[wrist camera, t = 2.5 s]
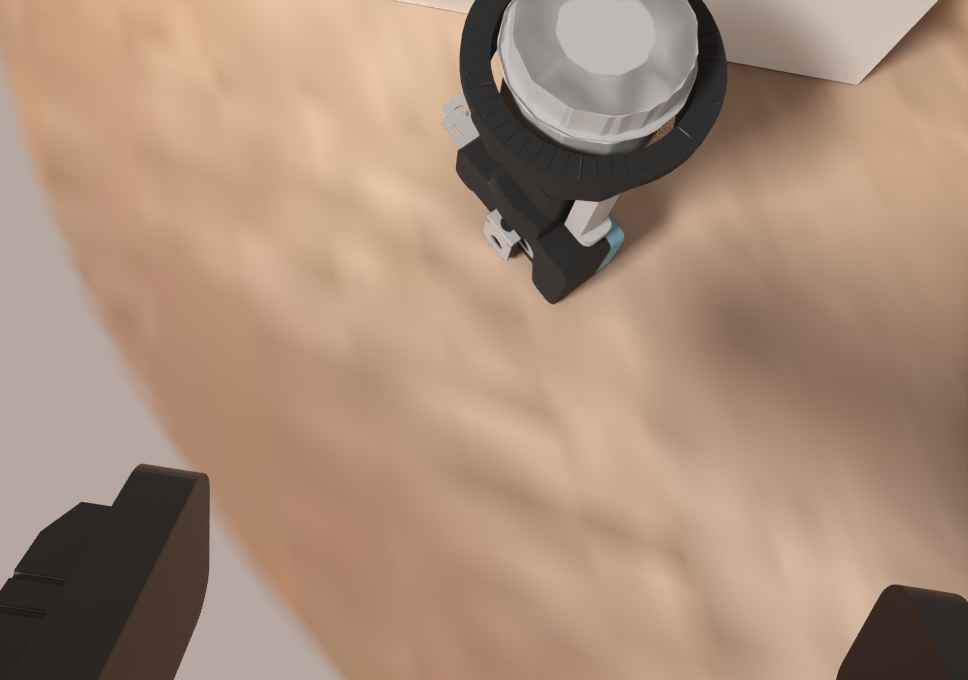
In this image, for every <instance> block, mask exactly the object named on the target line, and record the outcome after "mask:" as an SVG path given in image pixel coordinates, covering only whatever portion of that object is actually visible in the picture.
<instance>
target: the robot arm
mask: <svg viewBox="0 0 968 680" xmlns="http://www.w3.org/2000/svg"><path fill="white" fill-rule="evenodd" d="M209 514H210V486H209V478H208V476H207V474H205V473H198V472H192V471H185V470H179V469H173V468H166V467H160V466H154V465H147V464H140V465H138V466H137V467H136V468H135V469H134V470H133V472H132V473H131V475H130V476H129V478H128V480H127V481H126V483H125V485H124V486H123V488H122V490H121V491H120V493H119V495H118V497H117V498H116V500H115V501H114V503H113V505H112V506H105V505H98V504H92V503H85V502H81V503H79V504H78V505H77V506H75V507H74V508H72V509H71V510H70V511H68V512H67V513H66V514H64V515H63V516H61V517H60V518H59V519H57V520H56V521H54V522H53V523H52V524H50V525H49V526H48V527H46V528H45V529H43V530H42V531H41V532H40V533H39V534H38V536H37V538H36V539H35V540H34V542H33V543H32V545H31V546H30V548H29V550H28V551H27V552H26V554H25V555H24V557H23V558H22V560H21V561H20V562H19V564H18V565H17V567H16V568H15V570H14V575H13V577H12V578H9V579H8V580H7V582H6V583H5V585H4V586H3V588H2V589H1V590H0V680H174V678H175V675H176V673H177V670H178V668H179V665H180V663H181V661H182V658H183V656H184V653H185V651H186V648H187V646H188V643H189V641H190V638H191V636H192V634H193V631H194V629H195V627H196V624H197V621H198V619H199V616H200V613H201V609H202V606H203V602H204V598H205V594H206V589H207V583H208V575H209ZM836 680H968V602H967V601H966V599H965V598H963V597H962V596H960V595H958V594H954V593H947V592H941V591H934V590H928V589H922V588H915V587H909V586H903V585H890V586H889V587H887V588H886V589H885V590H884V591H883V592H882V593H881V595H880V596H879V598H878V600H877V602H876V604H875V605H874V607H873V609H872V611H871V612H870V614H869V616H868V618H867V620H866V621H865V623H864V625H863V627H862V628H861V630H860V632H859V634H858V636H857V637H856V639H855V641H854V643H853V644H852V646H851V648H850V650H849V652H848V653H847V655H846V657H845V659H844V661H843V662H842V664H841V666H840V668H839V671H838V674H837V679H836Z"/></svg>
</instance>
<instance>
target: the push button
mask: <svg viewBox="0 0 968 680" xmlns="http://www.w3.org/2000/svg"><path fill="white" fill-rule="evenodd" d="M496 50H498V54H499V59H500V63H501V68H502V72H503V79H502V85H501V91H500V94H499V92H498V90H497V87H496V84H495V82H494V79H493V74H492V70H491V59H492V57H493V55H494V53H495V52H496ZM460 78H461V84H462V88H463V93H464V94H462V93H459V94H458V95H456V96H455V97H453V98H452V99H450V100H449V101H447V102H446V103H444V104H443V105H442V110H443V112H444V113H445V114H446V115H447V116H446V117H445V118H443V119H442V120H441V125H442V126H443V128H444V129H445V130H446V131H447V133H448V134H449V135H450V136H451V137H452V139H453V140H454V141H455V142H456V143H457V145H458V146H459V147H460V148H461V149H459V150H458V154H457V162H456V171H457V173H458V175H459V177H460V178H461V180H462V181H463V182H464V183H465V185H466V186H467V187H468V188H469V189H470V190H472V191H474V193H475V194H476V195H477V196H478V197H479V199H480V200H481V201H482V202H483V204H484V205H485V206H486V207H487V208H488V210H489V211H490V212H491V213H490V214H489V215H488V216H487V218H488V219H487V220H486V223H485V227H484V232H483V233H484V235H485V237H486V239H487V240H488V241H489V242H490V244H491V245H492V246H493V247H494V249H495V250H496V251H497V252H498V253H499V255H500V256H501V257H502V258H503V259H504V260H506V261H507V260H509V257H510V254H511V251H512V246H513V245H514V244H515V243H516V244H517V245H518V246H519V247H520V249H521V250H522V251H523V252H524V254H525V255H526V256H527V257H528V258H529V260H530V261H531V262H532V263H533V271H532V280H533V283H534V284H535V286H536V288H537V289H538V290H539V291H540V293H541V294H542V295H543V296H544V297H545V299H546V300H547V301H548V302H549V303H551V304H555V303H557V302H558V301H559V300H561V299H562V298H563V297H564V296H566V295H567V294H568V293H570V292H571V291H572V290H574V289H575V288H576V287H578V286H579V285H580V284H582V283H583V282H584V281H586V280H587V279H588V278H590V277H591V276H592V275H594V274H595V273H596V272H598V271H599V270H600V269H601V268H603V267H604V266H605V265H607V264H608V263H609V262H610V261H611V259H612V257H613V256H614V254H615V253H616V251H617V250H618V248H619V247H620V245H621V244H622V242H623V241H624V237H625V236H624V234H623V231H622V230H621V228H620V227H619V225H618V224H617V223H616V222H615V221H614V219H613V218H612V217H611V216H610V215H609V213H610V211H611V209H612V208H613V206H614V204H615V203H616V201H617V199H618V197H619V196H620V194H621V193H623V192H625V191H627V190H629V189H632V188H635V187H638V186H641V185H644V184H648V183H650V182H652V181H655V180H657V179H659V178H661V177H663V176H665V175H666V174H668V173H670V172H672V171H673V170H674V169H676V168H677V167H678V166H680V165H681V164H682V163H684V162H685V161H686V160H687V159H688V158H689V157H690V156H691V155H692V154H693V153H694V152H695V150H696V149H697V148H698V147H699V146H700V145H701V143H702V142H703V140H704V139H705V137H706V136H707V134H708V133H709V131H710V130H711V128H712V127H713V125H714V123H715V121H716V119H717V117H718V115H719V112H720V110H721V107H722V104H723V100H724V96H725V92H726V84H727V61H726V53H725V49H724V44H723V40H722V37H721V35H720V32H719V29H718V26H717V24H716V22H715V20H714V18H713V16H712V14H711V13H710V11H709V10H708V8H707V6H706V5H705V3H704V2H703V1H702V0H475V1H474V3H473V5H472V6H471V8H470V10H469V13H468V16H467V18H466V21H465V25H464V29H463V32H462V39H461V47H460ZM461 106H462V107H465V108H467V109H468V111H469V115H468V116H467V114H466V113H465V112H464V111H463V110H462V109H457V110H456V108H458V107H461ZM675 115H676V119H675V123H674V127H673V130H671V131H670V132H669V133H668V134H667V135H666V136H664V137H663V138H662V139H660V140H659V141H657V142H655V143H654V144H652V145H650V144H651V142H652V140H653V138H654V136H655V135H656V133H657V131H658V129H659V128H660V127H661V126H662V125H664V124H665V123H666V122H667V121H669V120H670V119H671V118H672V117H673V116H675ZM454 125H455V126H456V127H457V129H458V130H459V131H460V132H461V133H457V132H456V131H455V130H454V128H453V126H454ZM649 145H650V146H649ZM493 236H494V237H495V238H496V239H497V240H498V241H499V243H500V245H501V247H502V248H501V247H500V246H499V245H498V244H497V242H496V241H495V239H494V237H493Z"/></svg>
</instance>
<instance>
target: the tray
mask: <svg viewBox="0 0 968 680" xmlns="http://www.w3.org/2000/svg"><path fill="white" fill-rule="evenodd" d="M396 1H402V2H407V3H412V4H418V5H423V6H429V7H434V8H440V9H445V10H451V11H456V12H462V13H467V14H468V13H469V10H470V8H471V6H472V5H473V3H474V1H475V0H396ZM702 1H703V2H704V3H705V5H706V6H707V8H708V10H709V11H710V13H711V14H712V16H713V18H714V20H715V22H716V24H717V26H718V29H719V32H720V35H721V37H722V40H723V44H724V49H725V53H726V61H729V62H734V63H740V64H745V65H751V66H756V67H762V68H767V69H773V70H778V71H784V72H789V73H795V74H800V75H805V76H811V77H816V78H822V79H827V80H833V81H838V82H844V83H849V84H855V85H858V84H859V83H860V82H861V81H862V80H863V78H864V77H865V76H866V75H867V74H868V73H869V72H870V71H871V70H872V69H873V68H874V67H875V66H876V65H877V64H878V63H879V62H880V61H881V60H882V59H883V58H884V56H885V55H886V54H887V53H888V52H889V51H890V50H891V49H892V48H893V47H894V46H895V45H896V44H897V43H898V42H899V41H900V40H901V39H902V38H903V37H904V35H905V34H906V33H907V32H908V31H909V30H910V29H911V28H912V27H913V26H914V25H915V24H916V23H917V22H918V21H919V20H920V19H921V18H922V17H923V16H924V14H925V13H926V12H927V11H928V10H929V9H930V8H931V7H932V6H933V5H934V4H935V3H936V2H937V1H938V0H702Z"/></svg>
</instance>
